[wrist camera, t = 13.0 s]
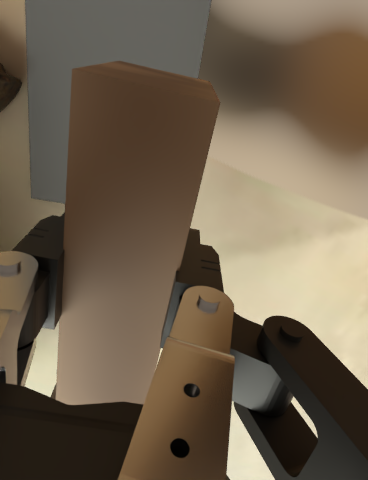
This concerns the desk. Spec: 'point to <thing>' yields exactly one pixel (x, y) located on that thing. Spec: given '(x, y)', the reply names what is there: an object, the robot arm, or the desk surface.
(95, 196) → the stick
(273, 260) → the desk surface
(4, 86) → the dark brown bar
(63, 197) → the mat
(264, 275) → the desk surface
